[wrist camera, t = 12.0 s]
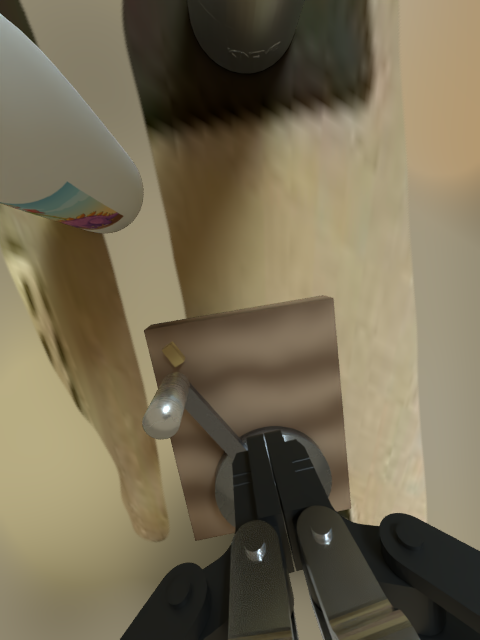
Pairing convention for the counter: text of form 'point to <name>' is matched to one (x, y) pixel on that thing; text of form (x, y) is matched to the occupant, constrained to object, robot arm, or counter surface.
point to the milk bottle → (58, 146)
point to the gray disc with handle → (217, 435)
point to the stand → (254, 390)
